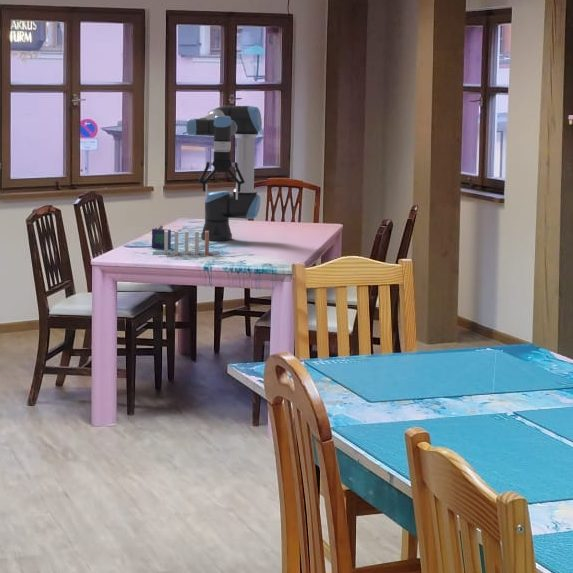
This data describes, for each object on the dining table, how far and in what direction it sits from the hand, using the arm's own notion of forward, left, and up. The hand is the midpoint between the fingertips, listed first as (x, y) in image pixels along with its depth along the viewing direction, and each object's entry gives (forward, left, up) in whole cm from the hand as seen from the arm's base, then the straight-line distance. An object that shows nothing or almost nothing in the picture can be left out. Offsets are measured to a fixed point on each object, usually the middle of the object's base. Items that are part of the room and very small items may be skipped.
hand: (221, 199), depth 529 cm
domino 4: (-8, -8, -24) cm, 27 cm away
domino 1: (-17, -17, -24) cm, 35 cm away
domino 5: (-4, -4, -24) cm, 25 cm away
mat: (-11, -11, -25) cm, 29 cm away
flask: (-31, -7, -25) cm, 40 cm away
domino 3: (-11, -11, -24) cm, 29 cm away
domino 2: (-14, -14, -24) cm, 32 cm away
